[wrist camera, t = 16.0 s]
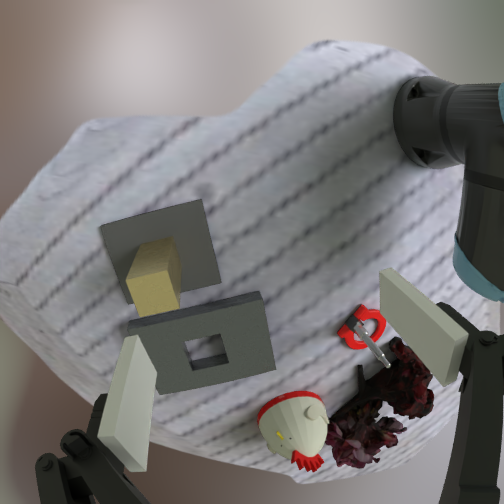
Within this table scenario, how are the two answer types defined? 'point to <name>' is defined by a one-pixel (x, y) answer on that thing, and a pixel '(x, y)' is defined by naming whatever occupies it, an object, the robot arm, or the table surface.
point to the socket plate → (202, 325)
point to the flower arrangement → (370, 401)
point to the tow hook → (364, 332)
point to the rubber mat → (162, 226)
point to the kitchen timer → (295, 427)
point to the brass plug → (155, 277)
